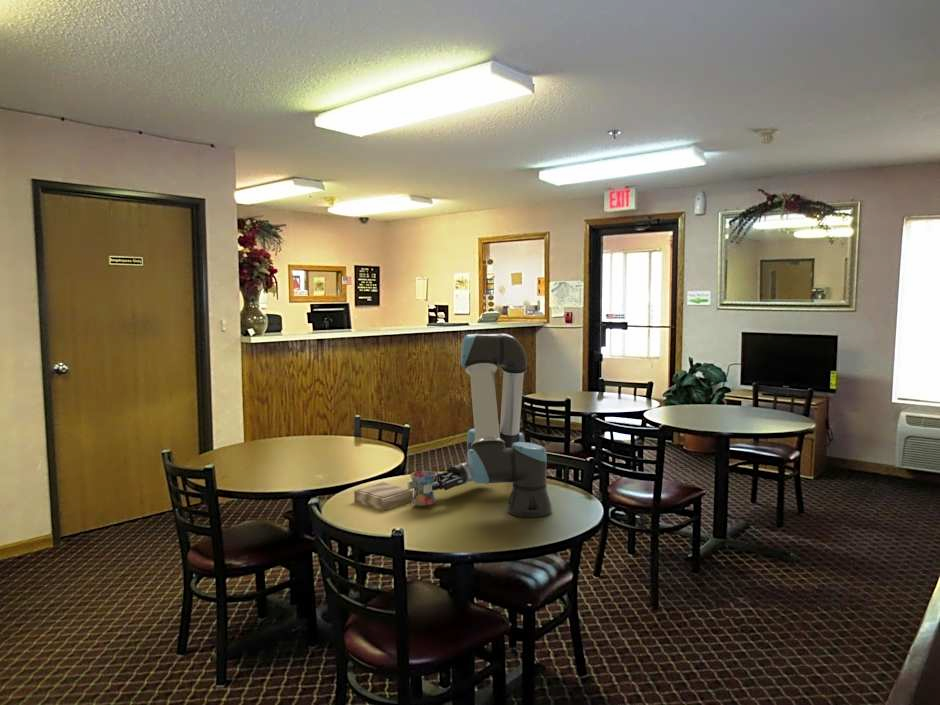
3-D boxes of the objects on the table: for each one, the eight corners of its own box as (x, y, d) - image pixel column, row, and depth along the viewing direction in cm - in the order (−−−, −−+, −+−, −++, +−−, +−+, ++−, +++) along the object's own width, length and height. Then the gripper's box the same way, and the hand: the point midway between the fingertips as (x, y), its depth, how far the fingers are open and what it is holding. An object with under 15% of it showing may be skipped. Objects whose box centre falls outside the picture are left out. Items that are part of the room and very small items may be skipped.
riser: (412, 500, 234) (412, 489, 234) (383, 510, 224) (383, 498, 223) (383, 492, 245) (383, 481, 244) (354, 501, 234) (354, 489, 234)
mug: (424, 509, 222) (423, 478, 221) (405, 504, 228) (404, 474, 227) (447, 501, 231) (447, 471, 230) (428, 496, 237) (428, 468, 236)
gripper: (480, 489, 236) (437, 503, 219) (440, 479, 249) (396, 492, 232) (480, 468, 236) (436, 481, 218) (440, 460, 249) (396, 472, 232)
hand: (416, 487), depth 225 cm, fingers closed on mug, 7 cm apart
